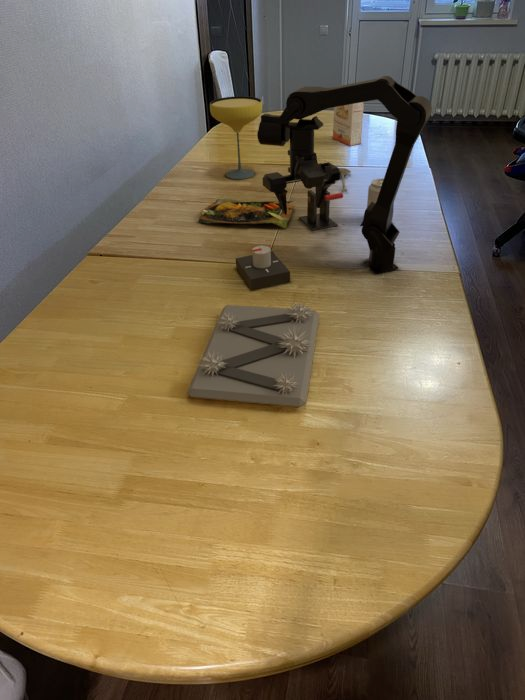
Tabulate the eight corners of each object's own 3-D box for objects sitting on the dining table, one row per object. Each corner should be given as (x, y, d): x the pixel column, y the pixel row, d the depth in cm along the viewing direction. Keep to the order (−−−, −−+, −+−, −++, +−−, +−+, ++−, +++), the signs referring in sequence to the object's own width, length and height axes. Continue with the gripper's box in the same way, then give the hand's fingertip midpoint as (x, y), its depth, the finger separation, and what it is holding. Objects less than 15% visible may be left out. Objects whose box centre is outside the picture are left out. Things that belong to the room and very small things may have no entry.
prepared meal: (194, 213, 154) (214, 190, 168) (195, 224, 156) (215, 201, 170) (285, 223, 148) (299, 199, 162) (285, 234, 150) (298, 210, 164)
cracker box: (331, 138, 226) (333, 86, 214) (343, 136, 228) (346, 84, 216) (349, 146, 216) (352, 91, 203) (361, 144, 218) (365, 89, 205)
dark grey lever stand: (337, 227, 151) (339, 195, 145) (312, 232, 149) (313, 199, 143) (322, 215, 159) (323, 184, 153) (298, 220, 157) (299, 188, 151)
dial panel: (290, 282, 126) (290, 270, 124) (251, 290, 124) (250, 278, 122) (272, 261, 135) (272, 250, 134) (236, 268, 133) (235, 257, 131)
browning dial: (267, 258, 130) (266, 243, 127) (273, 266, 127) (273, 250, 124) (250, 262, 129) (249, 246, 126) (256, 270, 126) (256, 253, 123)
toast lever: (343, 199, 140) (342, 190, 139) (327, 202, 139) (326, 193, 138) (324, 200, 151) (323, 192, 151) (309, 203, 150) (308, 194, 149)
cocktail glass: (271, 178, 188) (270, 103, 173) (224, 186, 183) (218, 110, 168) (254, 164, 201) (251, 94, 186) (209, 171, 196) (203, 99, 181)
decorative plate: (224, 311, 117) (221, 284, 112) (319, 318, 113) (320, 289, 109) (186, 401, 93) (181, 370, 89) (305, 412, 90) (305, 381, 85)
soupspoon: (350, 173, 190) (332, 174, 191) (350, 164, 189) (332, 165, 189) (354, 193, 172) (334, 194, 173) (354, 182, 171) (334, 184, 171)
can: (391, 227, 150) (396, 186, 143) (365, 226, 151) (368, 185, 144) (391, 217, 156) (396, 177, 149) (366, 216, 157) (369, 176, 150)
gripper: (279, 162, 113) (280, 229, 123) (353, 150, 119) (349, 215, 128) (260, 150, 122) (263, 213, 131) (330, 138, 127) (328, 200, 136)
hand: (301, 210), depth 131 cm, fingers open, 9 cm apart
